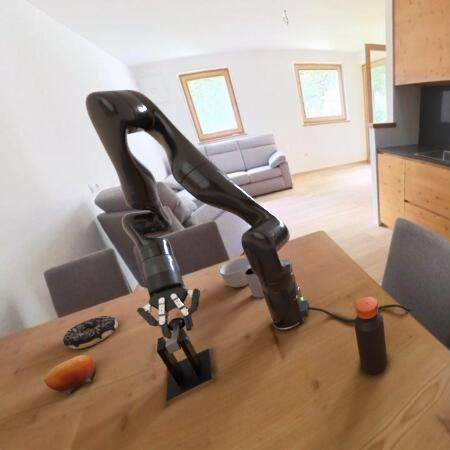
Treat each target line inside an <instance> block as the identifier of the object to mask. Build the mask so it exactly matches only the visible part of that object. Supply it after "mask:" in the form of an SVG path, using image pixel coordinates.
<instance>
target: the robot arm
mask: <svg viewBox="0 0 450 450" xmlns="http://www.w3.org/2000/svg"><path fill="white" fill-rule="evenodd" d="M84 104H85V109H86V112H87V115H88V118H89V120H90V122H91V125H92V126H93V128H94V130H95V133H96V134H97V137H98V139H99V141H100V143H101V145H102V147H103V148H104V151H105V153H106V154H107V157H108V158H109V160H110V162H111V163H112V166H113V168H114V170H115V172H116V175H117V178H118V180H119V184H120V188H121V192H122V196H123V199H124V201H125V205H126V206H127V207H128V208H129V209H133V210H136V211H133V212H128V213H126V214H124V216H123V217H122V219H121V226H122V229H123V230H124V232H125V233H126V234H127V236H128V237H129V238H130V239H131V240H132V242H133V243H134V245H135V247H136V249H137V251H138V255H139V258H140V261H141V265H142V266H141V267H142V274H143V277H144V281H145V284H146V289H147V292H148V296H149V300H148V303H147V304H145V305H144V306H143V307H138V308H137V309H136V312H137V313H138V314H139V315H140V316H141V317H142V318H143V319H144V321H145V322H146V323H147V324H148V325H150V326H151V327H160V328H161V333H162V337H164V338H165V339H167V340H168V339H170V338H171V337H172V332H173V331H171V330H170V329H169V327H168V325H169V316H170V312H171V311H172V310H174V309H178V310H179V311H180V312H181V313H182V315H183V317H182V318H183V319H184V322H185V329H186V331H188V332H190V331H192V330H193V328H194V327H195V326H194V325H195V324H194V322H193V318H192V315H193V314H194V313H196V312H198V310H199V304H200V298H201V290H199V288H194V289H188V288H187V287H186V286H185V282H184V279H183V277H182V272H181V268H180V266H179V263H178V261H177V259H176V257H175V254H174V251H173V247H172V243H171V242H170V241H169V239H168V238H163V237H149V236H154V235H160V234H164V233H167V232H169V231H170V230H171V229H172V227H173V221H172V218H171V216H170V215H169V213H168V212H167V210H166V209H165V207H164V206H163V204H162V202H161V198H160V195H159V190H158V185H157V181H156V177H155V176H154V174H153V173H152V171H151V170H150V169H149V168H148V167H147V166H146V165H145V164H144V163H142V162H141V160H139V158H137V156H136V155H134V153H133V152H132V151H131V148H130V146H129V142H128V135H131V134H136V133H142V132H144V133H146V134H148V135H149V136H150V137H151V138H153V139H154V140H155V142H157V144H159V145H160V146H161V147H162V149H163V150H164V152H165V155H166V159H167V163H168V167H169V170H170V173H171V175H172V177H173V180H175V182H176V183H177V184H179V185H180V187H181V188H183V189H184V190H185V191H186V192H188V194H190V195H191V196H192V197H193V198H195V199H196V200H197V201H198V202H201V203H203V204H205V205H207V206H210V207H213V208H216V209H219V210H221V211H225V212H227V213H230V214H233V215H235V216H236V217H238V218H240V219H241V220H243V221H244V222H245V223H246V224H248V225H249V226H250V227H249V228H248V229H247V230H245V231H244V232H243V233H242V235H241V239H240V241H241V242H240V243H241V247H242V250H243V253H244V256H245V255H246V258H247V260H248V262H249V265H250V267H251V269H252V271H253V272H254V273H255V275H256V276H257V277H258V280H259V283H260V286H261V289H262V292H263V295H264V297H263V298H264V301H265V303H266V307H267V310H268V313H269V318H270V320H271V321H272V325H273V327H274V328H275V329H276V330H278V331H288V330H291V329H294V328H297V326H299V325H301V324H304V323H305V318H307V317H309V311H318V312H321V313H324V314H326V315H328V316H330V317H333V318H336V319H338V320H341V321H344V322H349V323H354V321H355V318H345V317H343V316H339V315H337V314H334V313H332V312H330V311H328V310H326V309H324V308H320V307H314V306H313V307H312V306H310V304H309V300H308V299H306V300H304V298H303V295H302V292H301V288H300V286H298V284H297V280H296V277H295V272H294V269H293V265H292V262H291V261H290V260H289V259H287V258H285V257H279V254H278V253H279V251H280V250H281V249H282V248H283V247H284V246H285V245H286V244H287V243H288V242H289V241H290V238H291V235H290V234H291V233H290V230H289V227H288V226H287V225H286V224H285V223H284V222H283V221H282V220H281V219H280V218H279V217H278V216H276V215H275V214H273V213H272V212H271V211H270V210H269V209H267V208H265V207H264V206H263V205H262V204H261V203H259V202H258V201H256V200H255V199H254V198H253V197H252V196H251V195H249V194H248V193H247V192H246V191H245V190H244V189H243V188H242V187H240V186H239V185H238V184H237V183H236V182H235V181H233V180H232V179H231V177H229V176H228V175H227V174H226V173H225V172H224V170H222V169H221V168H220V167H219V166H217V164H216V163H214V162H213V161H212V160H211V159H210V158H209V157H207V155H205V154H204V153H203V152H202V151H201V150H200V149H199V148H197V146H196V145H195V144H193V142H191V140H189V138H187V136H185V134H183V133H182V131H180V129H179V128H178V127H177V126H176V125H175V124H174V123H173V122H172V121H171V120H170V119H169V118H168V117H167V115H166V114H165V113H164V112H163V111H162V109H160V107H158V105H157V104H156V103H155V102H153V100H151V99H150V97H148V96H146V95H145V94H144V93H142V92H141V91H137V90H135V89H112V90H99V91H93V92H90V93H89V94H87V96H86V98H85V103H84ZM188 295H189V297H190V298H191V302H190V308H189V307H188V305H186V303H185V302H186V299H187V298H188ZM152 308H155V309H157V310H158V320H157V319H156V318H155V317H154V316H153V315H152ZM386 308H387V309H388V308H400V309H403V310H405V311H407V312H409V313H410V312H411V311H412V310H411V309H409V308H408V307H406V306H404V305H402V304H395V303H394V304H385V305H381V306H378V311H380V310H381V309H386Z"/></svg>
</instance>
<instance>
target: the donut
mask: <svg viewBox="0 0 450 450" xmlns="http://www.w3.org/2000/svg"><path fill="white" fill-rule="evenodd" d="M118 326H119V323H118V321H117V320H116V317H113V316H110V315H101V316H95V317H92V318H89V319H87V320H85V321H82V322H79V323H77V324H75V325H74V326H72V327H71V328H69V330H67V331H66V332H65V333H64V336H63V339H62V340H63V344H64V346H66V348H69V349H73V350H80V349H85V348H89V347H92V346H94V345H96V344H98V343H100V342H102V341H104V340H105V339H107V338H108V337H110V336H111V335H112V334H113V333H115V331H116V330H117V329H118Z"/></svg>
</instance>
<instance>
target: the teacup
mask: <svg viewBox="0 0 450 450" xmlns="http://www.w3.org/2000/svg"><path fill="white" fill-rule="evenodd" d="M249 268H251V267H250V265H249V262H248V260H247V258H246V255H245V254H244V255H243V257H238V258H235V259H232V260H230V261H227V262H226V263H225V264H223V265H222V266H220V268H219V274H220V275H221V276H222V279H223V281H224V283H225V284H226V285H227V286H228V287H231V288H243V287H245V286H247V285H249V284H248V281H247V278H246V275H245V271H246V270H248V269H249Z"/></svg>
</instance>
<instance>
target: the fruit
mask: <svg viewBox="0 0 450 450" xmlns="http://www.w3.org/2000/svg"><path fill="white" fill-rule="evenodd" d="M94 370H95V363H94V359H93V357H92V356H90V355H85V354H83V355H77V356H74V357H72V358H70V359H67V360H65V361H62V362H61V363H59V364H58V365H56V366H54V367H53V368H51V370H49V372H48V373H47V374H46V375H45V377H44V378H43V382H44V383H45V385H46V386H47V387H48V388H49V389H51V390H52V391H55V392H59V393H61V394H62V393H67V394H68V393H69V394H71V393H72V392H73V390H75V388H77V387H79V386H81V385H83V384H85V383H93V381H92V380H91V378H92V377H93V374H94Z"/></svg>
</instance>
